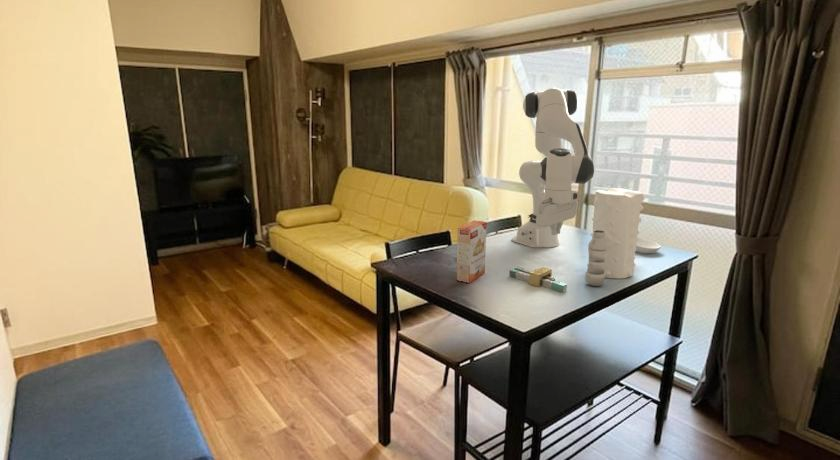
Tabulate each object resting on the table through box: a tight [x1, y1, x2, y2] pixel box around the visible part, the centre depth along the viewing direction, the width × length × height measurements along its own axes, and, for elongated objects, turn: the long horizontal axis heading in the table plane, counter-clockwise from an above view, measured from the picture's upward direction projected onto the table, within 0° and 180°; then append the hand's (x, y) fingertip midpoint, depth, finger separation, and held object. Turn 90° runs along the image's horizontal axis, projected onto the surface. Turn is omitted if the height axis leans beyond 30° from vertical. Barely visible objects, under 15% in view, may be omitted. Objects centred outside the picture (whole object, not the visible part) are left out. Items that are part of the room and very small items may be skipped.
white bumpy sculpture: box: [586, 187, 645, 279], centre depth 174 cm, size 17×16×32 cm
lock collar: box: [528, 266, 553, 288], centre depth 168 cm, size 4×8×5 cm, turn 133°
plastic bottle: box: [584, 230, 608, 287], centre depth 163 cm, size 6×7×20 cm
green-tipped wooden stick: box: [508, 268, 568, 294], centre depth 168 cm, size 23×4×3 cm, turn 43°
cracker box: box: [456, 220, 488, 284], centre depth 173 cm, size 14×6×21 cm, turn 148°
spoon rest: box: [635, 236, 662, 255], centre depth 206 cm, size 24×12×7 cm, turn 44°
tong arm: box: [513, 266, 555, 280], centre depth 172 cm, size 16×2×3 cm, turn 43°
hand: (555, 234), depth 163 cm, fingers closed
